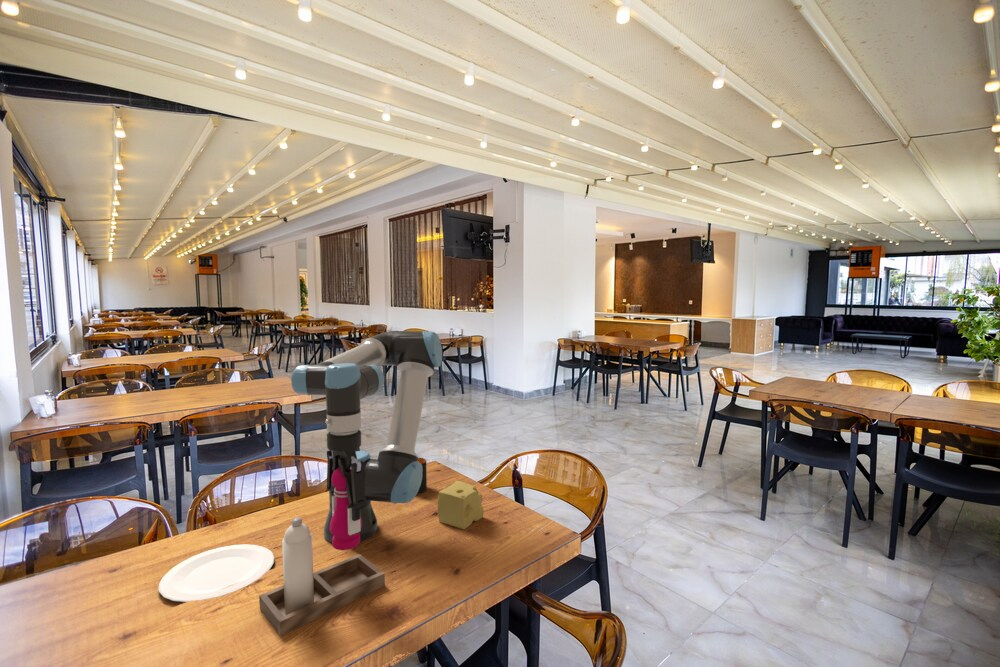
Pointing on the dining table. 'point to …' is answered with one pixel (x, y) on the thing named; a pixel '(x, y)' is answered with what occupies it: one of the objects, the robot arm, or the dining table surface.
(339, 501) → the pepper mill
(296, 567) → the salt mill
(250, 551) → the plate
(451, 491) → the cheese
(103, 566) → the dining table surface
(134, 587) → the dining table surface
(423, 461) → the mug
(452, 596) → the dining table surface
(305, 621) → the wooden compartment tray
